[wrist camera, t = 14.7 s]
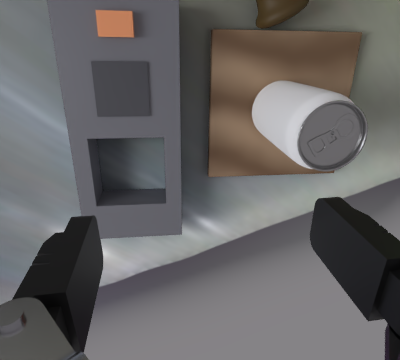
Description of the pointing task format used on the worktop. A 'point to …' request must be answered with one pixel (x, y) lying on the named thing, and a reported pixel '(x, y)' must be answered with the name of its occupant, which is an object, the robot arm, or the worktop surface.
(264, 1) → the kendama
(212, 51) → the walnut board
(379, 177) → the worktop surface
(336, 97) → the can
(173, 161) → the grey block with hole
